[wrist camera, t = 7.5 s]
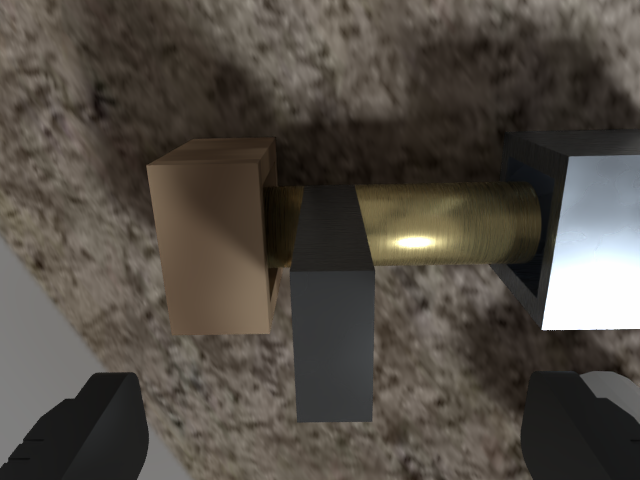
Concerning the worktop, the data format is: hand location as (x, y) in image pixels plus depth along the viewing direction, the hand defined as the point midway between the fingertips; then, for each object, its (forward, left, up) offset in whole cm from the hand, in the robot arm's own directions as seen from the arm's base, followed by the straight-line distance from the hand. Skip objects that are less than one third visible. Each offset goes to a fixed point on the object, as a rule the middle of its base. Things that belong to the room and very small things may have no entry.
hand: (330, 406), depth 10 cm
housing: (0, +12, -15) cm, 19 cm away
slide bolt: (0, +2, -14) cm, 14 cm away
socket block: (0, -5, -15) cm, 16 cm away
